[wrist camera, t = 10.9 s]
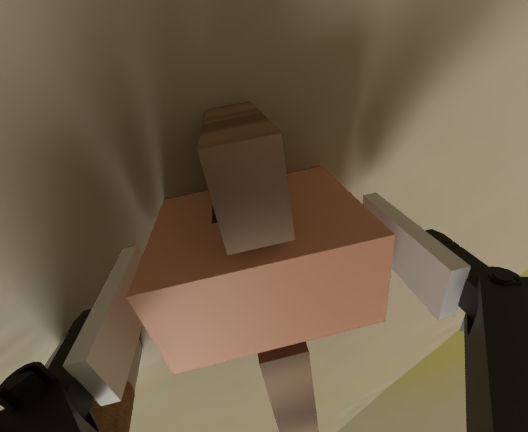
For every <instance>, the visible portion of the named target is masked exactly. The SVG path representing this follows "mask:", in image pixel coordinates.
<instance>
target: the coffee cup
mask: <svg viewBox="0 0 528 432" xmlns="http://www.w3.org/2000/svg"><path fill="white" fill-rule="evenodd" d="M67 334H68V333H67ZM67 334H66V335H67ZM65 337H66V336H65ZM65 337H64V338H63V339H62V341H61V342H60V343H59V345H58V346H57V348H56V349H55V351H54V352H53V354H52V355H51V357H50V358H49V360H48V361H47V363H46V364H45V367H46V368H47V369H48V367H49V365H50V364H51V362H52V360H53V358H54V357H55V355H56V353H57V351H58V349H59V348H60V346H61V344H62V343H63V340H64V339H65ZM141 353H142V345H141V342H140V340H138V343H137V347H136V351H135V354H134V358H133V361H132V365H131V368H130V372H129V375H128V379H127V382H126V386H125V389H124V393H123V396H122V400H121V401H120V402H116V403H112V404H108V405H104V406H100V405H99V404H98V402H97V401H96V400H95V399H94V400H93V402H92V405H91V408H90V411H91V412H92V413H93V414H94V415H95V417H96V419H97V421H98V423H99V425H100V427H101V429H102V431H103V432H129V428H130V422H131V415H132V409H133V402H134V396H135V394H134V392H135V386H136V381H137V375H138V370H139V364H140V359H141Z"/></svg>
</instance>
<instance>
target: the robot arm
mask: <svg viewBox="0 0 528 432" xmlns="http://www.w3.org/2000/svg"><path fill="white" fill-rule="evenodd" d="M363 205H364V206H365V207H366V208H367V209H368V210H369V211H370V212H371V213H372V214H373V215H374V216H376V217H377V218H378V219H379V220H380V221H381V222H382V223H383V224H384V225H385V226H386V227H387V228H389V229H390V230H391V231H392V232H393V233H394V234H395V240H394V249H393V258H392V266H391V267H392V269H393V270H394V271H395V272H396V273H397V274H398V275H399V277H400V278H401V279H402V280H403V281H404V282H405V283H406V284H407V286H408V287H409V288H410V289H411V290H412V291H413V292H414V294H415V295H416V296H417V297H418V298H419V299H420V300H421V301H422V303H423V304H424V305H425V306H426V307H427V308H428V309H429V310H430V312H431V313H432V314H433V315H434V316H435V317H436V318H437V320H441V319H445V318H449V317H453V316H455V315H456V312H457V309H458V306H459V307H460V308H461V309H462V310H463V311H464V312H465V313H466V314H465V317H464V320H463V323H462V326H461V329H460V331H464V333H465V334H464V335H465V336H464V337H465V375H466V376H465V379H466V416H467V417H466V418H467V419H466V421H467V432H528V277H520V276H519V275H518V274H516V273H514V272H512V271H510V270H508V269H504V268H500V267H488V266H487V265H485V264H484V263H483V262H481V261H480V260H479V259H477V258H476V257H474V256H473V255H472V254H470V253H469V252H468V251H466V250H465V249H463V248H462V247H460V246H459V245H458V244H457V243H455V242H453V241H452V240H451V239H450V238H448V237H447V236H446V235H444V234H442V233H440V232H437V231H435V230H433V229H430V230H426V231H425V230H424V229H422V228H421V227H420V226H418V225H417V224H416V223H414V222H413V221H412V220H411V219H409V218H408V217H407V216H405V215H404V214H403V213H402V212H400V211H399V210H398V209H396V208H395V207H394V206H393V205H391V204H390V203H389V202H387V201H386V200H385V199H384V198H382V197H381V196H380V195H378V194H377V193H372V194H367V195H363ZM141 258H142V255H141V253H140V251H139V249H138V247H137V246H133V247H128V248H124V249H122V251H121V253H120V255H119V257H118V259H117V261H116V263H115V265H114V267H113V269H112V271H111V272H110V274H109V276H108V278H107V280H106V282H105V284H104V286H103V288H102V290H101V292H100V294H99V296H98V298H97V300H96V302H95V304H94V306H93V307H92V309H90V310H86V311H83V312H82V314H81V315H80V316H79V317H78V318H77V319H76V320H75V321H74V323H73V324H72V326H71V328H70V330H69V331H68V334H67V335H66V337H65V339H64V340H63V343H62V344H61V346H60V348H59V349H58V351H57V353H56V355H55V357H54V358H53V360H52V362H51V364H50V365H49V367H48V369H47V368H46V367H45V366H44V365H43V364H42V363H41V362H32V363H29V364H26V365H24V366H22V367H21V368H19V369H17V370H16V371H15V372H13V373H12V374H11V375H10V376H8V377H7V378H6V379H5V381H4V382H3V383H2V384H1V385H0V405H1V406H3V407H4V408H5V409H3V410H2V411H0V432H103V431H102V429H101V427H100V425H99V423H98V421H97V419H96V417H95V415H94V414H93V413H92V412H91V411H90V408H91V405H92V402H93V400H94V399H95V400H96V401H97V402H98V404H99V405H100V406H104V405H108V404H112V403H116V402H120V401H121V400H122V396H123V393H124V389H125V386H126V382H127V379H128V375H129V372H130V368H131V365H132V361H133V358H134V354H135V351H136V347H137V343H138V340H139V336H140V333H141V329H142V326H143V324H142V322H141V321H140V319H139V317H138V316H137V314H136V312H135V311H134V309H133V307H132V306H131V304H130V302H129V301H128V299H127V294H128V291H129V289H130V286H131V284H132V281H133V279H134V276H135V273H136V271H137V268H138V266H139V263H140V261H141Z"/></svg>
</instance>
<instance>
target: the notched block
mask: <svg viewBox="0 0 528 432" xmlns="http://www.w3.org/2000/svg"><path fill="white" fill-rule="evenodd" d="M287 178H288V186H289V194H290V202H291V210H292V219H293V227H294V235H295V240H292V241H288V242H284V243H279V244H275V245H270V246H266V247H262V248H257V249H253V250H249V251H244V252H240V253H235V254H231V255H227V252H226V249H225V245H224V242H223V238H222V235H221V232H220V228H219V225H218V221H217V218H216V215H215V211H214V208H213V204H212V201H211V198H210V194H209V191H208V190H207V191H202V192H198V193H193V194H188V195H184V196H179V197H174V198H169V199H165V200H164V202H163V204H162V207H161V209H160V212H159V215H158V217H157V220H156V222H155V225H154V227H153V230H152V232H151V235H150V238H149V240H148V243H147V245H146V248H145V250H144V253H143V256H142V258H141V261H140V263H139V266H138V268H137V271H136V273H135V276H134V279H133V281H132V284H131V286H130V289H129V291H128V294H127V299H128V301H129V302H130V304H131V306H132V307H133V309H134V311H135V312H136V314H137V316H138V317H139V319H140V321H141V322H142V324H143V325H144V327H145V329H146V330H147V332H148V334H149V335H150V337H151V339H152V340H153V342H154V344H155V345H156V347H157V349H158V350H159V352H160V354H161V355H162V357H163V358H164V360H165V362H166V363H167V365H168V367H169V368H170V370H171V372H172V373H173V375H174V374H178V373H182V372H186V371H190V370H194V369H198V368H202V367H206V366H210V365H214V364H218V363H222V362H225V361H229V360H233V359H237V358H241V357H245V356H249V355H253V354H257V353H261V352H265V351H269V350H273V349H277V348H281V347H285V346H289V345H293V344H297V343H301V342H305V341H309V340H313V339H317V338H321V337H325V336H329V335H333V334H337V333H341V332H345V331H349V330H353V329H356V328H360V327H364V326H368V325H372V324H376V323H380V322H384V321H385V319H386V310H387V301H388V293H389V284H390V275H391V266H392V258H393V249H394V240H395V234H394V233H393V232H392V231H391V230H390V229H389V228H387V227H386V226H385V225H384V224H383V223H382V222H381V221H380V220H379V219H378V218H377V217H376V216H374V215H373V214H372V213H371V212H370V211H369V210H368V209H367V208H366V207H365V206H364V205H363V204H362V203H360V202H359V201H358V200H357V199H356V198H355V197H354V196H353V195H352V194H351V193H350V192H349V191H347V190H346V189H345V188H344V187H343V186H342V185H341V184H340V183H339V182H338V181H337V180H336V179H335V178H333V177H332V176H331V175H330V174H329V173H328V172H327V171H326V170H325V169H324V168H323V167H322V166H320V167H315V168H311V169H306V170H301V171H296V172H292V173H287Z"/></svg>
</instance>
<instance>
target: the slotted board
mask: <svg viewBox="0 0 528 432" xmlns="http://www.w3.org/2000/svg"><path fill="white" fill-rule="evenodd" d="M197 153H198V157H199V160H200V164H201V167H202V170H203V174H204V177H205V181H206V184H207V187H208V191H209V194H210V198H211V201H212V204H213V208H214V211H215V215H216V218H217V221H218V225H219V228H220V232H221V235H222V238H223V242H224V245H225V249H226V252H227V255H231V254H235V253H240V252H244V251H249V250H253V249H257V248H262V247H266V246H270V245H275V244H279V243H284V242H288V241H292V240H295V235H294V227H293V219H292V210H291V202H290V194H289V186H288V178H287V170H286V161H285V153H284V145H283V137H282V132H280V131H279V130H278V129H277V128H276V127H275V126H274V125H273V124H272V123H271V122H270V121H269V120H268V119H267V118H266V117H265V116H264V115H263V114H262V113H261V112H260V111H259V110H258V109H257V108H256V107H255V106H254V105H253V104H252V103H251V102H246V103H241V104H235V105H230V106H225V107H220V108H215V109H210V110H206V112H205V116H204V121H203V125H202V129H201V134H200V138H199V142H198V147H197ZM258 358H259V364H260V368H261V371H262V374H263V378H264V381H265V385H266V388H267V391H268V395H269V398H270V402H271V405H272V408H273V412H274V415H275V419H276V422H277V425H278V429H279V432H319V431H318V423H317V415H316V407H315V399H314V390H313V382H312V374H311V366H310V358H309V351H308V348H307V345H306V342H301V343H297V344H293V345H289V346H285V347H281V348H277V349H273V350H269V351H265V352H261V353H258Z"/></svg>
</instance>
